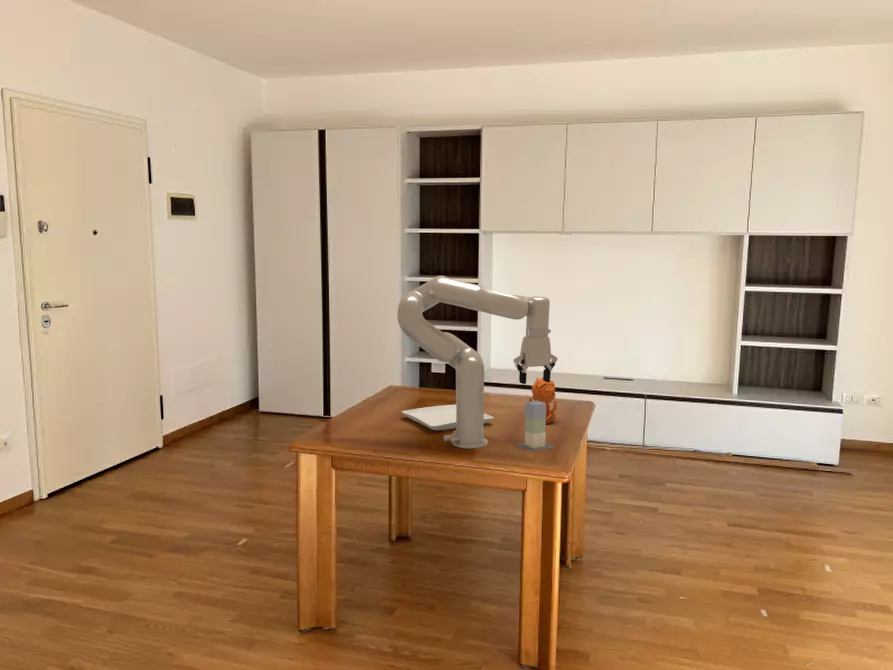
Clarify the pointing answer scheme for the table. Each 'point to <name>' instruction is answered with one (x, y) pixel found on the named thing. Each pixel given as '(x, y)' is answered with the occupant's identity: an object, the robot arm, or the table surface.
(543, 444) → the beige cube
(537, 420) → the pale green cube
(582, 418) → the table surface
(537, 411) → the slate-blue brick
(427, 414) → the square plate
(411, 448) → the table surface
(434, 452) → the table surface
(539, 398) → the orange sculpted figure
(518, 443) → the mat
